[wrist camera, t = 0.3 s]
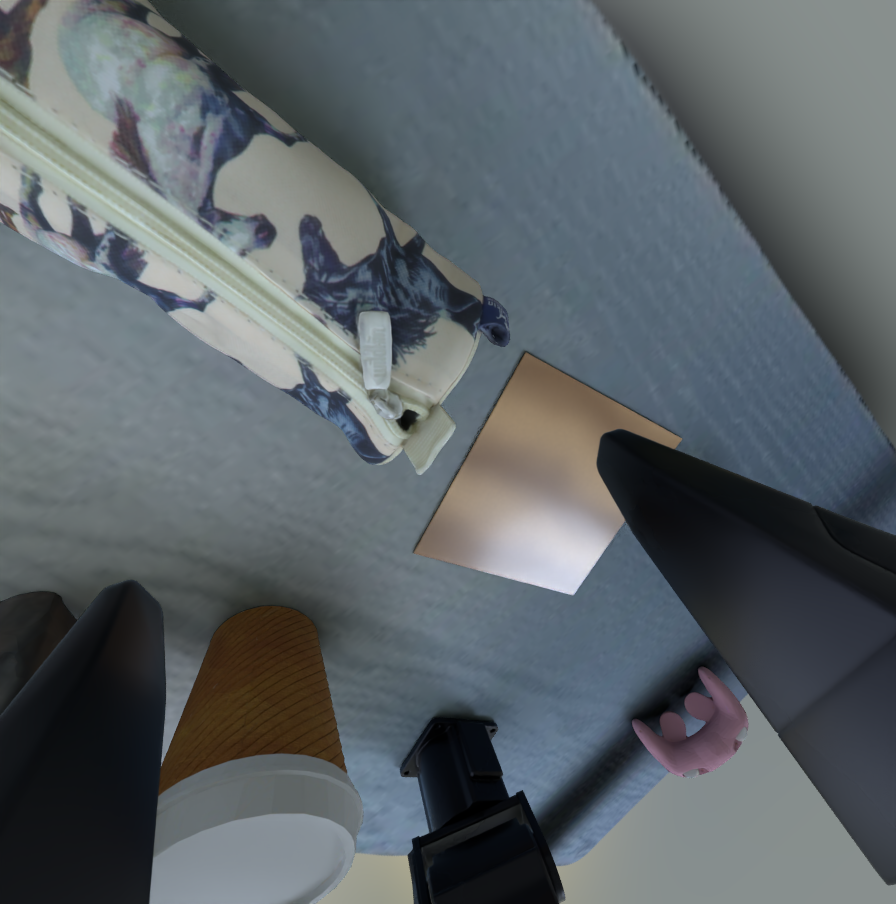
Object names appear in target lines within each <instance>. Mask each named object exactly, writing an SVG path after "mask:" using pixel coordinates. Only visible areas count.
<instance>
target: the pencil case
mask: <svg viewBox="0 0 896 904" xmlns="http://www.w3.org/2000/svg"><path fill="white" fill-rule="evenodd" d="M0 222H1V223H3V224H5V225H6V226H8V227H9V228H11V229H13V230H14V231H16V232H18V233H20V234H21V235H23V236H25V237H27V238H29V239H30V240H32V241H34V242H36V243H38V244H39V245H41V246H43V247H45V248H46V249H48V250H50V251H52V252H54V253H56V254H57V255H59V256H61V257H63V258H65V259H67V260H69V261H70V262H72V263H74V264H76V265H78V266H80V267H83V268H85V269H87V270H90V271H93V272H96V273H99V274H103V275H107V276H111V277H114V278H116V279H118V280H120V281H122V282H124V283H126V284H128V285H129V286H131V287H133V288H135V289H137V290H139V291H141V292H143V293H145V294H146V295H148V296H150V297H151V298H152V299H153V300H154V301H155V302H156V303H157V304H158V305H159V306H160V307H161V308H162V309H163V310H164V311H165V312H166V313H167V314H169V315H170V316H171V317H172V318H173V319H174V320H176V321H177V322H178V323H179V324H181V325H182V326H183V327H184V328H186V329H187V330H188V331H190V332H191V333H192V334H194V335H195V336H196V337H198V338H199V339H200V340H202V341H203V342H205V343H206V344H208V345H209V346H211V347H213V348H215V349H216V350H218V351H220V352H222V353H224V354H225V355H227V356H229V357H231V358H232V359H234V360H235V361H237V362H238V363H240V364H241V365H243V366H244V367H246V368H247V369H249V370H250V371H252V372H253V373H255V374H256V375H258V376H259V377H261V378H262V379H264V380H265V381H267V382H268V383H270V384H272V385H273V386H275V387H277V388H279V389H280V390H282V391H284V392H286V393H287V394H289V395H291V396H292V397H294V398H295V399H297V400H298V401H299V402H301V403H302V404H304V405H305V406H307V407H308V408H309V409H311V410H312V411H314V412H315V413H316V414H318V415H320V416H322V417H324V418H325V419H327V420H329V421H331V422H333V423H334V424H336V425H337V426H338V427H339V428H341V430H342V431H343V432H344V434H345V435H346V437H347V439H348V441H349V442H350V444H351V446H352V447H353V448H354V450H355V451H356V452H357V454H358V455H359V456H360V457H361V458H362V459H363V460H365V461H366V462H367V463H369V464H372V465H373V464H377V465H382V464H386V463H388V462H390V461H391V460H393V459H394V458H395V457H396V456H397V455H398V454H399V453H400V452H401V451H402V450H403V449H404V451H405V452H406V454H407V456H408V457H409V459H410V461H411V463H412V464H413V465H414V467H415V469H416V472H417V474H419V475H422V474H423V473H424V472H425V471H426V470H427V469H428V468H429V467H430V465H431V464H432V462H433V461H434V459H435V458H436V456H437V455H438V453H439V451H440V450H441V449H442V447H443V446H444V445H445V444H446V442H447V441H448V440H449V438H450V437H451V435H452V434H453V432H454V430H455V428H456V425H455V422H454V421H453V420H452V418H451V417H450V416H449V415H448V414H447V412H446V411H445V410H444V409H443V408H442V407H441V406H440V405H441V403H442V402H443V401H444V400H445V398H446V397H447V396H448V395H449V393H450V392H451V391H452V389H453V388H454V387H455V386H456V384H457V383H458V382H459V380H460V379H461V377H462V376H463V374H464V373H465V371H466V369H467V368H468V366H469V365H470V363H471V360H472V358H473V356H474V354H475V351H476V349H477V346H478V343H479V339H480V336H481V334H482V333H483V334H484V335H485V336H486V337H487V338H488V340H489V341H490V342H491V343H493V344H494V345H497V346H500V347H505V346H506V345H507V344H508V343H509V340H510V333H509V323H508V313H507V311H506V310H505V308H504V307H503V306H502V305H501V304H500V303H499V302H498V301H496V300H495V299H493V298H490V297H486V296H483V294H482V291H481V287H480V285H479V283H478V282H477V281H476V280H474V279H473V278H471V277H470V276H469V275H467V274H466V273H465V272H464V271H462V270H461V269H460V268H458V267H457V266H456V265H454V264H453V263H452V262H451V261H449V260H448V259H446V258H445V257H443V256H441V255H439V254H438V253H437V252H435V251H434V250H433V249H432V248H431V247H429V245H428V244H427V243H426V242H425V241H424V240H423V239H422V238H421V236H420V235H419V234H418V233H417V232H416V231H415V230H414V229H413V228H412V227H411V226H409V225H408V224H406V223H404V222H402V221H401V220H400V219H399V218H398V217H397V216H395V215H394V214H392V213H391V212H389V211H387V210H386V209H385V208H383V206H382V205H381V204H380V203H379V201H378V200H377V199H376V198H375V197H374V196H373V195H372V194H371V192H370V191H369V190H368V189H367V188H366V187H365V186H364V185H363V184H362V183H361V182H360V181H359V180H358V179H357V178H356V177H355V176H353V175H352V174H351V173H349V172H348V171H346V170H345V169H344V168H342V167H341V166H339V165H338V164H337V163H336V162H334V161H333V160H332V159H331V158H329V157H328V156H327V155H326V154H325V153H324V152H322V151H321V150H320V149H319V148H317V147H316V146H315V145H313V144H312V143H311V142H309V141H308V140H307V139H305V138H304V137H303V136H302V135H301V134H299V133H298V132H297V131H296V130H294V129H293V128H292V127H291V126H290V125H289V124H287V123H286V122H285V121H284V120H283V119H282V118H281V117H280V116H279V115H277V114H276V113H275V112H274V111H273V110H271V109H270V108H269V107H267V106H266V105H265V104H263V103H262V102H261V101H259V100H258V99H257V98H255V97H254V96H253V95H251V94H250V93H249V92H247V91H246V90H244V89H243V88H242V87H240V86H239V85H238V84H237V83H236V82H235V81H234V80H232V79H231V78H230V77H229V76H228V75H227V74H226V73H225V72H224V71H222V70H221V69H220V68H219V67H218V66H217V65H216V64H215V63H214V62H213V61H211V60H210V59H209V58H208V57H207V56H206V55H204V54H203V53H202V52H201V51H200V50H199V49H198V48H197V47H195V46H194V45H193V44H192V43H191V42H190V41H189V40H188V39H187V38H185V37H184V36H183V35H182V34H181V33H180V32H179V31H178V30H177V29H175V28H174V27H173V26H172V25H170V24H169V23H168V22H167V21H166V20H165V19H164V18H163V17H162V16H161V15H160V14H159V13H158V12H157V11H156V9H155V8H154V7H153V6H152V5H151V4H150V2H149V1H148V0H0ZM493 335H494V336H493ZM494 337H495V338H494ZM497 343H498V344H497Z"/></svg>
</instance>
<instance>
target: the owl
mask: <svg viewBox="0 0 896 904" xmlns="http://www.w3.org/2000/svg"><path fill="white" fill-rule="evenodd" d="M76 622H77V620H76V619H75V618H74V617H73V616H72V615H71V613H70V612H69V611H68V609H67V608H66V607H65V605H64V604H63V602H62V598H61V597H60V596H59V595H57V594H56V593H51V592H32V593H27V594H21V595H17V596H14V597H12V598H9V599H7V600H4V601H2V602H0V716H1V714H2V713H3V712H4V711H5V709H6V708H7V707H8V706H9V704H10V703H11V702H12V701H13V699H14V698H15V697H16V696H17V695H18V693H19V692H20V691H21V690H22V688H23V687H24V686H25V685H26V683H27V682H28V681H29V680H30V679H31V677H32V676H33V675H34V674H35V672H36V671H37V670H38V669H39V667H40V666H41V665H42V664H43V662H44V661H45V660H46V659H47V658H48V656H49V655H50V654H51V653H52V651H53V650H54V649H55V648H56V646H57V645H58V644H59V643H60V642H61V640H62V639H63V638H64V637H65V635H66V634H67V633H68V632H69V630H70V629H71V628H72V627H73V625H74V624H75V623H76Z"/></svg>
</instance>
